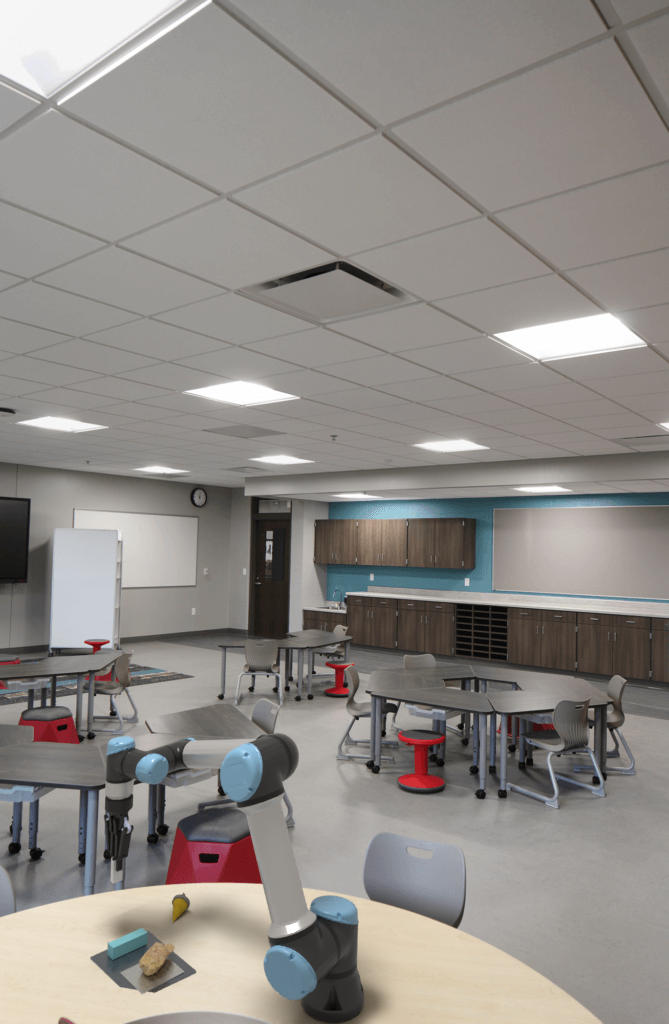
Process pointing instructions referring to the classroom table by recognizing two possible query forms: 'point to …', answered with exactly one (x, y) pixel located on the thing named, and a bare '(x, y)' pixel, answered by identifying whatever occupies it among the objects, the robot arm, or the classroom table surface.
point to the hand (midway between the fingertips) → (116, 880)
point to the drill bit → (179, 905)
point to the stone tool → (155, 957)
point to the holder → (133, 977)
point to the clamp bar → (127, 943)
